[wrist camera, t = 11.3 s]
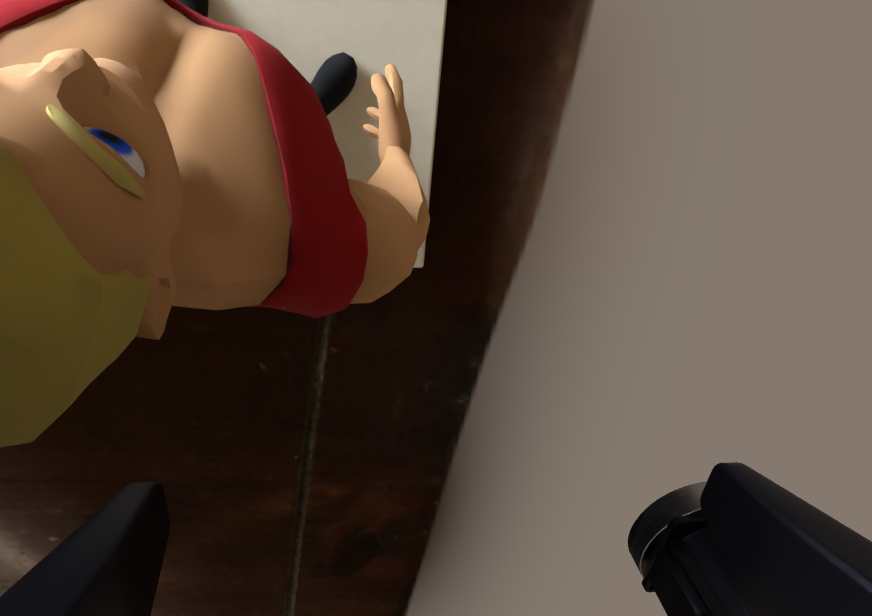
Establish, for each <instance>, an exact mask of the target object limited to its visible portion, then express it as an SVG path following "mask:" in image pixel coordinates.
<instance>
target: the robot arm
mask: <svg viewBox="0 0 872 616" xmlns="http://www.w3.org/2000/svg"><path fill="white" fill-rule="evenodd" d="M700 505H701V510H702V513H703V515H690V516H678V517H674V518H673V519H671V520H670V521H669V523H668V525H667V527H666V530H665V532H664V534H663V536H662V539H661V541H660V543H659V545H658V547H657V550H656V552H655V554H654V556H653V559H652V561H651V563H650V565H649V568H648V570H647V572H646V574H645V576H644V579H643V581H642V585H643V587H644V589H645V591H646V592H656V594H657V596H658V598H659V600H660V602H661V604H662V606H663V608H664V610H665V611H666V613H667V615H668V616H872V542H871V541H870V540H868V539H866V538H865V537H863V536H861V535H860V534H858V533H857V532H855V531H853V530H852V529H850V528H848V527H846V526H845V525H843V524H842V523H840V522H838V521H837V520H835V519H833V518H832V517H830V516H828V515H827V514H825V513H824V512H822V511H820V510H819V509H817V508H815V507H814V506H812V505H810V504H809V503H807V502H806V501H804V500H802V499H801V498H799V497H797V496H796V495H794V494H792V493H791V492H789V491H787V490H786V489H784V488H782V487H781V486H779V485H778V484H776V483H774V482H773V481H771V480H769V479H768V478H766V477H764V476H763V475H761V474H759V473H758V472H756V471H755V470H753V469H751V468H750V467H748V466H746V465H744V464H742V463H737V462H736V463H719V464H717V465H716V466H715V467H714V468H713V470H712V472H711V474H710V476H709V479H708V481H707V483H706V485H705V487H704V489H703V492H702V494H701V497H700ZM169 531H170V518H169V513H168V508H167V503H166V499H165V494H164V489H163V486H162V484H161V483H160V482H157V481H145V482H132V483H129V484H128V485H126V486H125V487H124V488H122V489H121V490H120V491H119V492H118V493H117V494H116V495H115V496H113V497H112V498H111V499H110V500H109V501H108V502H107V503H106V504H104V505H103V506H102V507H101V508H100V509H99V510H98V511H96V512H95V513H94V514H93V515H92V516H91V517H90V518H89V519H87V520H86V521H85V522H84V523H83V524H82V525H81V526H80V527H78V528H77V529H76V530H75V531H74V532H73V533H72V534H71V535H69V536H68V537H67V538H66V539H65V540H64V541H63V542H61V543H60V544H59V545H58V546H57V547H56V548H55V549H54V550H52V551H51V552H50V553H49V554H48V555H47V556H46V557H45V558H43V559H42V560H41V561H40V562H39V563H38V564H37V565H36V566H34V567H33V568H32V569H31V570H30V571H29V572H28V573H27V574H25V575H24V576H23V577H22V578H21V579H20V580H19V581H17V582H16V583H15V584H14V585H13V586H12V587H11V588H10V589H8V590H7V591H6V592H5V593H4V594H3V595H2V596H1V597H0V616H150V615H151V611H152V606H153V602H154V598H155V593H156V589H157V585H158V580H159V576H160V572H161V567H162V563H163V559H164V554H165V550H166V546H167V541H168V537H169Z"/></svg>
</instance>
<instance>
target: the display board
mask: <svg viewBox="0 0 872 616" xmlns="http://www.w3.org/2000/svg"><path fill="white" fill-rule="evenodd" d="M446 10H447V0H209V7H208V18H210V19H212V20H214V21H217V22H219V23H222V24H227V25H231V26H235V27H239V28H242V29H245V30H248V31H251V32H253V33H254V34H256V35H257V36H259V37H260V38H262V39H264V40H265V41H267V42H268V43H270V44H271V45H273V46H274V47H276V48H277V49H278V50H279V51H280V52H281V53H282V54H283V55H284V56H285V57H286V58H287V59H288V61H289V62H290V63H291V64H292V65H293V66H294V67H295V68H296V69H297V70H298V71H299V72H300V73H301V74H302V76H303V77H304V78H305V79H306V80H307V81H308V82H309V83H311V82H312V80H313V79H314V77H315V75H316V73H317V71H318V70H319V68H320V67H321V66H322V64H323V63H324V62H325V60H327V59H328V58H330V57H331V56H332V55H335V54H338V53H342V52H345V53H346V54H348V55H350V56H352V57H353V58H354V60H355V63H356V65H357V79H356V82H355V85H354V87H353V89H352V91H351V92H350V94H349V95H348V97H347V98H346V99H345V100H344V101H343V102H342V103H341V104H340V105H339V106H338V107H337V108H336V109H335V110H333V111H332V112H331V113H330V114H329V115H327V118H328V120H329V122H330V125H331V127H332V131H333V135H334V139H335V141H336V143H337V146H338V148H339V150H340V152H341V155H342V157H343V159H344V163H345V168H346V173H347V178H348V179H353V180H358V181H361V182H365V183H367V182H368V181H369V180H370V178H371V177H372V176H373V174H374V173H375V172H376V171H377V170H378V168H379V166H380V165H381V163H380V158H379V154H378V146H379V139H376V138H374V137H372V136H370V135H369V134H368V133H367V132H365V131H364V129H363V126H364V125H365V124H370V125H372V126H374V127H376V128H378V129H379V122H378V121H376V120H375V119H373V118H372V117H371V116H370V115H369V114H368V113H367V108H368V107H374V108H377V109H379V106H378V100H377V96H376V95H375V93H374V92H373V90H372V86H371V77H372V75H374V74H375V73H381V74H382V75H384V76H385V67H386V66H387V65H388V64H392V65H394V66H395V67H396V69H397V71H398V73H399V76H400V77H401V79H402V81H403V94H404V107H405V111H406V114H407V118H408V122H409V126H410V131H411V150H410V156H409V157H410V158H411V160H412V163H413V165H414V168H415V171H416V173H417V176H418V179H419V182H420V184H421V187H422V190H423V193H424V195H425V198H426V202H427V207H428V211H429V200H430V189H431V177H432V166H433V155H434V144H435V133H436V122H437V110H438V99H439V88H440V77H441V66H442V55H443V43H444V32H445V21H446ZM385 77H386V76H385ZM425 245H426V239H425V240H424V242H423V243H422V245H421V247H420V248H419V250H418V251H417V259H416V261H415V264H414V267H413V268H422V267H423V266H424V256H425Z"/></svg>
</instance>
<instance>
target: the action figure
mask: <svg viewBox="0 0 872 616" xmlns="http://www.w3.org/2000/svg"><path fill="white" fill-rule="evenodd" d="M208 7H209V0H0V447H6V446H12V445H18V444H24V443H30V442H33V441H34V440H35V439H36V438H37V437H38V436H39V435H40V434H41V433H42V432H43V431H44V430H46V429H47V428H48V427H49V426H50V425H51V424H52V423H53V422H54V421H55V420H56V419H57V418H58V417H59V416H60V415H61V414H62V413H64V412H65V411H66V410H67V409H68V408H69V407H70V406H71V404H72V403H73V402H74V401H75V400H76V399H77V398H78V396H79V395H80V394H81V393H82V392H83V391H84V389H85V388H86V387H87V386H88V385H89V384H90V383H91V382H92V381H93V380H94V379H95V378H96V377H97V376H98V375H99V374H100V373H101V372H102V371H104V370H105V369H106V368H107V367H108V366H109V365H110V364H111V363H112V362H114V361H115V360H116V359H117V358H118V356H119V355H120V354H121V353H122V352H123V351H124V350H125V348H126V347H127V346H128V345H129V344H130V343H131V342H132V340H133V339H134V338H135V337H141V338H149V339H157V340H159V339H160V337H161V336H162V334H163V332H164V329H165V325H166V321H167V318H168V315H169V312H170V309H171V306H179V307H189V308H199V309H210V310H224V309H231V308H238V307H270V308H274V309H279V310H283V311H289V312H294V313H300V314H303V315H306V316H309V317H312V318H319V317H322V316H325V315H329V314H332V313H336V312H339V311H342V310H344V309H345V308H346V307H347V306H349V304H355V303H371V302H373V301H375V300H376V299H378V298H380V297H382V296H383V295H385V294H387V293H389V292H390V291H391V290H392V289H394V288H395V287H396V286H397V285H398V284H400V283H401V282H402V281H403V280H404V279H406V278H407V277H408V276H409V275H410V274H411V272H412V269H413V267H414V264H415V261H416V259H417V251H418V250H419V248H420V247H421V245H422V243H423V242H424V240H425V239H426V236H427V232H428V227H429V223H430V216H429V212H428V207H427V202H426V198H425V195H424V193H423V190H422V187H421V184H420V182H419V179H418V176H417V173H416V171H415V168H414V165H413V163H412V160H411V158H410V157H409V156H410V150H411V131H410V126H409V122H408V118H407V114H406V111H405V107H404V94H403V81H402V79H401V77H400V76H399V73H398V71H397V69H396V67H395V66H394V65H392V64H388V65H387V66H386V67H385V76H386V77H385V76H384V75H382V74H381V73H375V74H374V75H372V77H371V86H372V90H373V92H374V93H375V95H376V96H377V100H378V106H379V109H377V108H374V107H368V108H367V113H368V114H369V115H370V116H371V117H372V118H373V119H375V120H376V121H378V122H379V129H378V128H376V127H374V126H372V125H370V124H365V125H364V126H363V129H364V131H365V132H367V133H368V134H369V135H370V136H372V137H374V138H376V139H379V146H378V154H379V158H380V163H381V165H380V166H379V168H378V170H377V171H376V172H375V173H374V174H373V176H372V177H371V178H370V180H369V181H368V182H367V183H365V182H361V181H358V180H353V179H348V178H347V173H346V168H345V163H344V159H343V157H342V155H341V152H340V150H339V148H338V146H337V143H336V141H335V139H334V135H333V131H332V127H331V125H330V122H329V120H328V118H327V115H329V114H330V113H331V112H332V111H333V110H335V109H336V108H337V107H338V106H339V105H340V104H341V103H342V102H343V101H344V100H345V99H346V98H347V97H348V95H349V94H350V92H351V91H352V89H353V87H354V85H355V82H356V79H357V65H356V63H355V60H354V58H353V57H352V56H350V55H348V54H346V53H345V52H342V53H338V54H335V55H332V56H331V57H330V58H328V59H327V60H325V62H324V63H323V64H322V66H321V67H320V68H319V70H318V71H317V73H316V75H315V77H314V79H313V80H312V82H311V83H309V82H308V81H307V80H306V79H305V78H304V77H303V76H302V74H301V73H300V72H299V71H298V70H297V69H296V68H295V67H294V66H293V65H292V64H291V63H290V62H289V61H288V59H287V58H286V57H285V56H284V55H283V54H282V53H281V52H280V51H279V50H278V49H277V48H276V47H274V46H273V45H271V44H270V43H268V42H267V41H265V40H264V39H262V38H260V37H259V36H257V35H256V34H254V33H253V32H251V31H248V30H245V29H242V28H239V27H235V26H231V25H227V24H222V23H219V22H217V21H214V20H212V19H210V18H208Z"/></svg>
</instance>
